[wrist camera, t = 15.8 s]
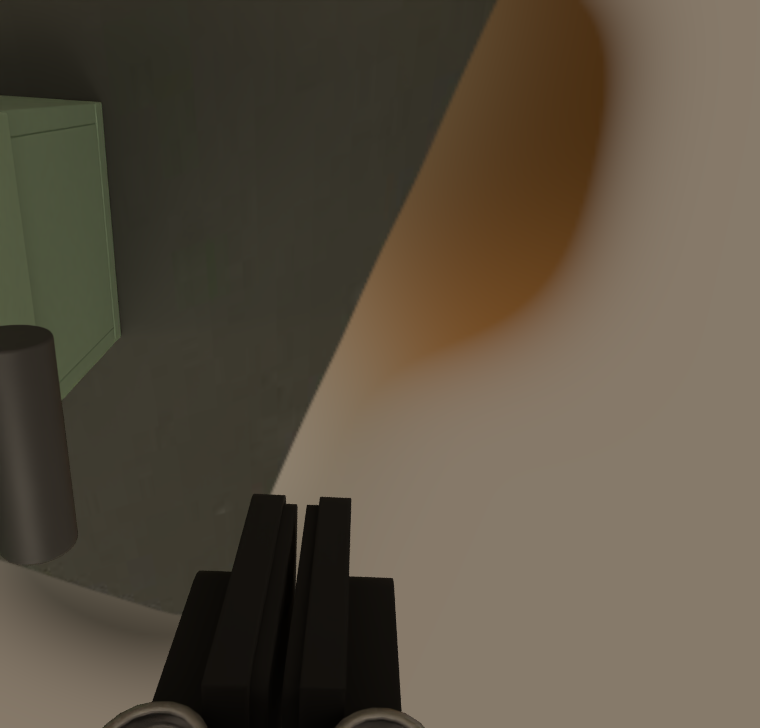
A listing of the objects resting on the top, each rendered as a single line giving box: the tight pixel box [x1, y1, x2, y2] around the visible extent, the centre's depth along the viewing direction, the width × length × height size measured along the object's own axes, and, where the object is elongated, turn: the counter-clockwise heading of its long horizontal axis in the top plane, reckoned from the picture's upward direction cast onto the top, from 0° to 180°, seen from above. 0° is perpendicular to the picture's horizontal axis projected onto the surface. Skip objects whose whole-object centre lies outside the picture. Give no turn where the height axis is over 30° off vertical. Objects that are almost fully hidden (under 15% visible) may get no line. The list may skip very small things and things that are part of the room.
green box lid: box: [0, 112, 78, 565], centre depth 19 cm, size 15×12×4 cm
